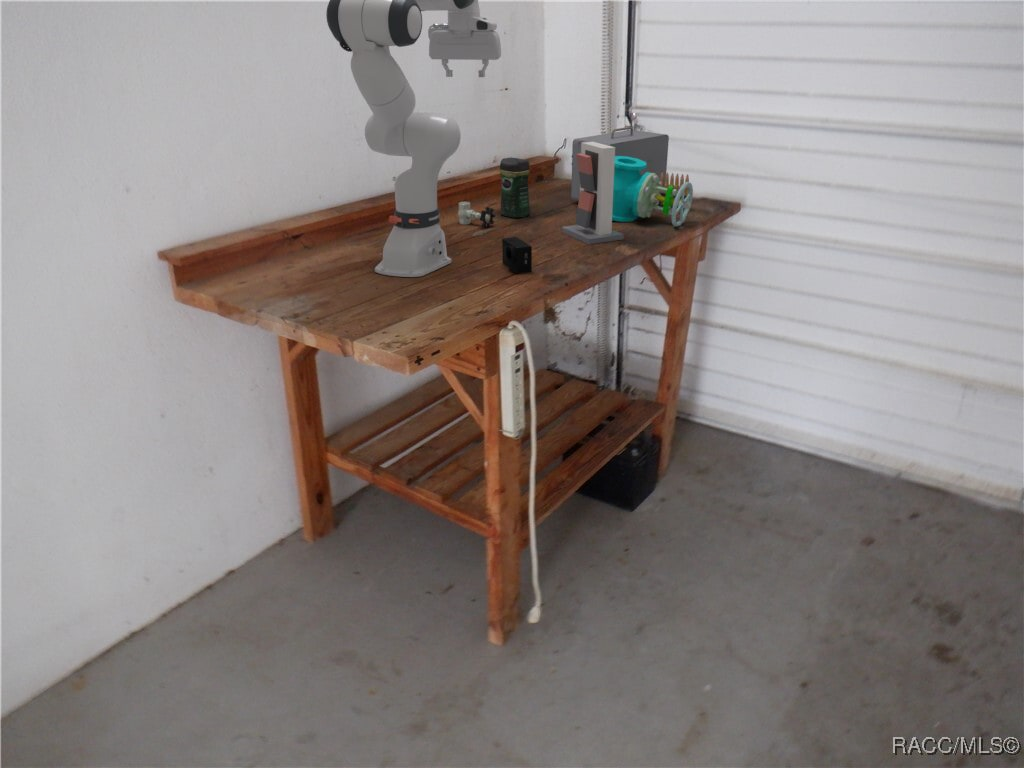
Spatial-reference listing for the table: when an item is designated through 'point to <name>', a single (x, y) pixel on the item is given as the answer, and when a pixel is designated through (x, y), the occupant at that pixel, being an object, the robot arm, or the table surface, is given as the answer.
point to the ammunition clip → (673, 186)
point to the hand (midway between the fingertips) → (465, 77)
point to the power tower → (598, 197)
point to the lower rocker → (584, 209)
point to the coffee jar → (514, 187)
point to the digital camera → (517, 255)
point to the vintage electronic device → (626, 151)
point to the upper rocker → (585, 172)
